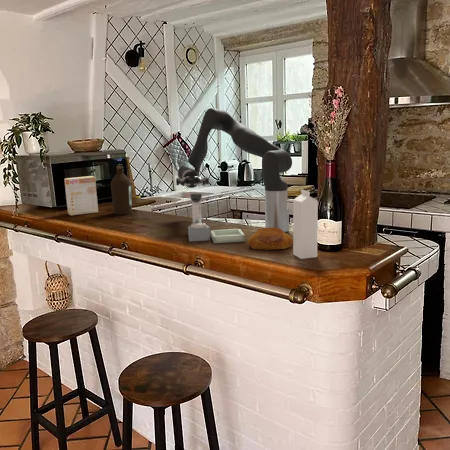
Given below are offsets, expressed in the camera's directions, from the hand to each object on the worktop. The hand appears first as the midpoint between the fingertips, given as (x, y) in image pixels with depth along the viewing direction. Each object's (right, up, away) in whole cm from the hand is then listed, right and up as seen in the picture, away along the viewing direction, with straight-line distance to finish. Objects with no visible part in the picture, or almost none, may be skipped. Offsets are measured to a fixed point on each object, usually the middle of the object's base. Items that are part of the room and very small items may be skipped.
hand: (193, 183), depth 198 cm
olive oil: (-41, -12, +51) cm, 66 cm away
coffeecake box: (-64, -11, +55) cm, 85 cm away
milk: (+40, -28, -42) cm, 65 cm away
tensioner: (+3, -23, -9) cm, 25 cm away
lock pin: (+2, -22, -7) cm, 23 cm away
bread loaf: (+30, -26, -27) cm, 48 cm away
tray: (+14, -23, -14) cm, 31 cm away
